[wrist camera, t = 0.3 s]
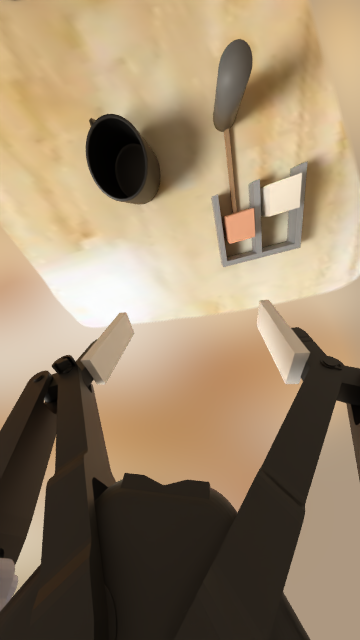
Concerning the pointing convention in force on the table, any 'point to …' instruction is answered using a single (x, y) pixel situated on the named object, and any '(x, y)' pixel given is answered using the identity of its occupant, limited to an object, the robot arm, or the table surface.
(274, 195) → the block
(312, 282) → the table surface
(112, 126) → the mug
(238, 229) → the block
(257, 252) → the lane shelf
